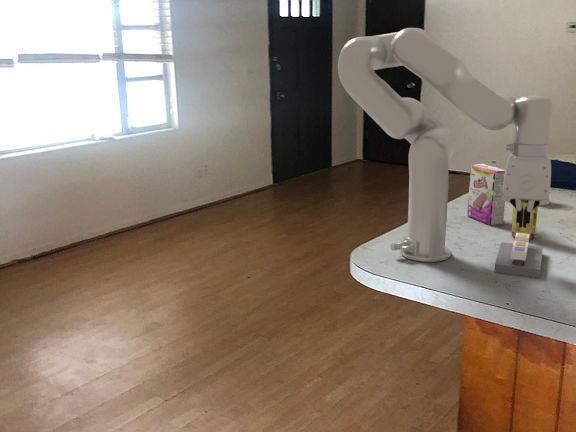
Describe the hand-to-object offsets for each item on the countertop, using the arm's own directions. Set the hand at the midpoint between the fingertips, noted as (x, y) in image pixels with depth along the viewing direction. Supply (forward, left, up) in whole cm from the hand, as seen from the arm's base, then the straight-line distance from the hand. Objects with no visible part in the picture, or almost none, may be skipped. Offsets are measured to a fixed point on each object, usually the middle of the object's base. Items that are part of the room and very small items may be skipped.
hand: (522, 225), depth 147 cm
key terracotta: (0, 0, -8) cm, 8 cm away
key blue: (-3, -3, -8) cm, 9 cm away
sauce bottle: (+16, +16, -10) cm, 25 cm away
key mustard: (+5, +5, -8) cm, 11 cm away
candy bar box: (+17, +33, -10) cm, 39 cm away
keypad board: (+1, +1, -10) cm, 10 cm away
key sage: (+3, +3, -9) cm, 10 cm away
